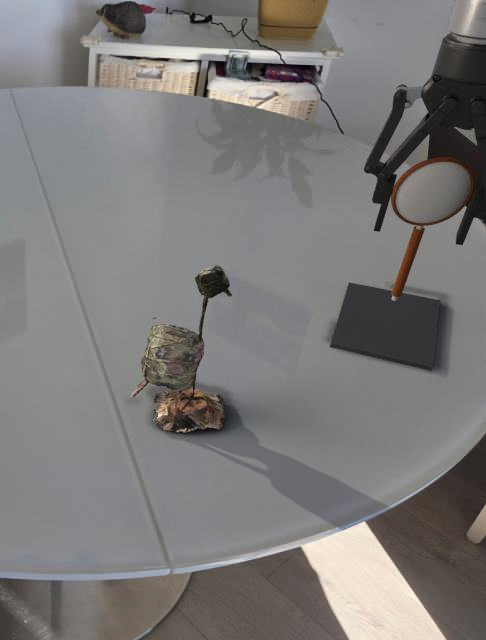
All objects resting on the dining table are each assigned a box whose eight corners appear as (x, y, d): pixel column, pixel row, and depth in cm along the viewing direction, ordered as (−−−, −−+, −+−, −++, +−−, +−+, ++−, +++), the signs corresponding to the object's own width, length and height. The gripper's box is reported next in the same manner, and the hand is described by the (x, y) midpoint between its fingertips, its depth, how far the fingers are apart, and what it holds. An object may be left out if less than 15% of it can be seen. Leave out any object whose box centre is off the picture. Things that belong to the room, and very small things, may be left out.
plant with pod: (142, 380, 83) (149, 246, 70) (232, 400, 79) (256, 261, 66) (124, 423, 77) (127, 284, 65) (219, 447, 73) (243, 304, 61)
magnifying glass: (360, 303, 86) (405, 160, 73) (358, 295, 87) (400, 154, 74) (431, 306, 84) (488, 160, 71) (427, 298, 85) (483, 154, 73)
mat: (439, 303, 91) (440, 300, 90) (431, 371, 80) (433, 367, 80) (348, 285, 96) (348, 282, 95) (329, 346, 85) (330, 343, 85)
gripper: (368, 39, 67) (321, 231, 81) (622, 51, 58) (519, 264, 72) (377, 22, 72) (331, 206, 86) (612, 30, 63) (518, 234, 77)
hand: (417, 232), depth 79 cm, fingers closed on magnifying glass, 8 cm apart
